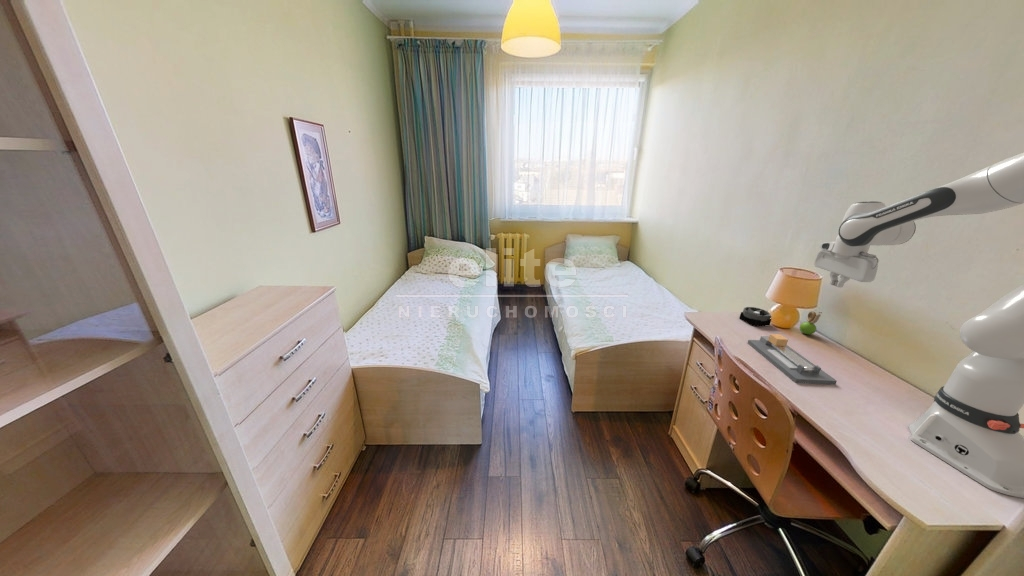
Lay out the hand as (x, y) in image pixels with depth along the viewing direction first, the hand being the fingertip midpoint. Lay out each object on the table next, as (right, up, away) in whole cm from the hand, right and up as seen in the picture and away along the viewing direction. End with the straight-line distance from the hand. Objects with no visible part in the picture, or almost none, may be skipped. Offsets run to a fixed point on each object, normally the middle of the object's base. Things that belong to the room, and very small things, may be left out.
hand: (836, 286), depth 119 cm
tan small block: (-15, -22, +8) cm, 28 cm away
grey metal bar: (-15, -26, +1) cm, 31 cm away
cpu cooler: (-5, -17, +34) cm, 38 cm away
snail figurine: (+10, -21, +23) cm, 33 cm away
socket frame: (-15, -28, +3) cm, 32 cm away
